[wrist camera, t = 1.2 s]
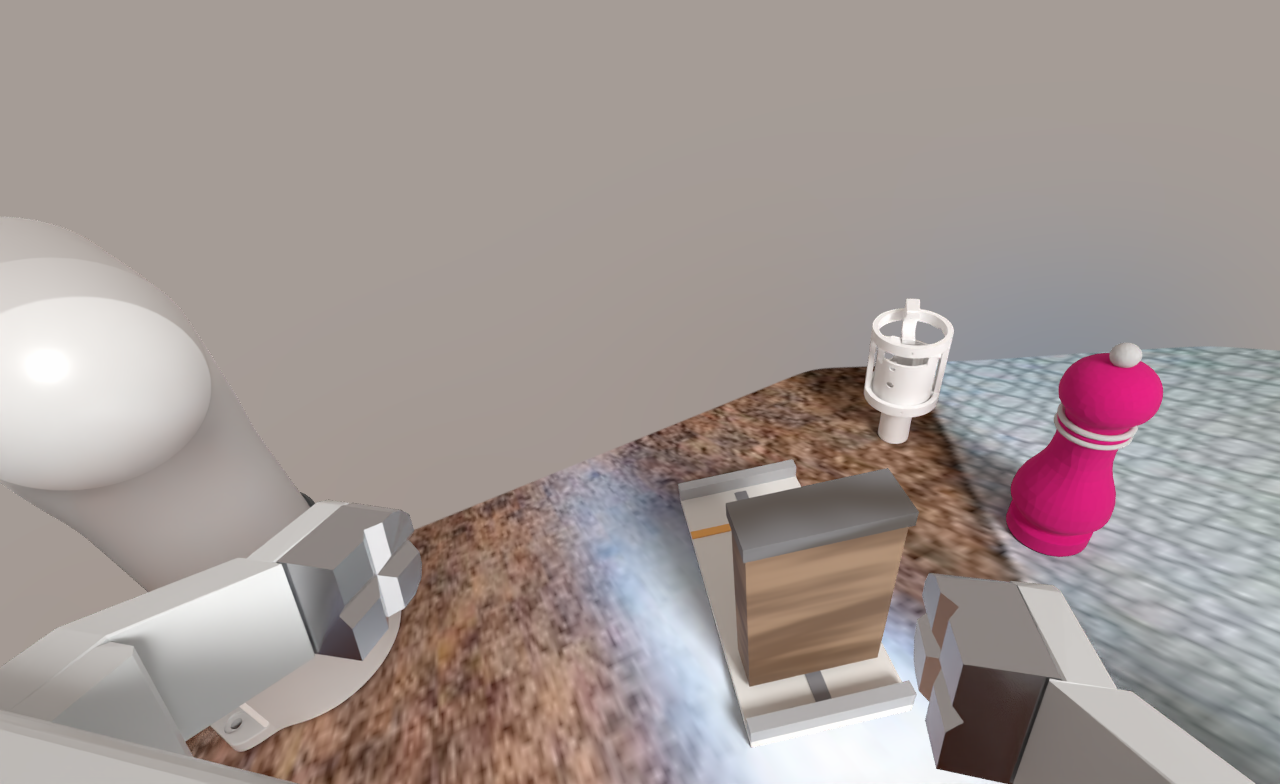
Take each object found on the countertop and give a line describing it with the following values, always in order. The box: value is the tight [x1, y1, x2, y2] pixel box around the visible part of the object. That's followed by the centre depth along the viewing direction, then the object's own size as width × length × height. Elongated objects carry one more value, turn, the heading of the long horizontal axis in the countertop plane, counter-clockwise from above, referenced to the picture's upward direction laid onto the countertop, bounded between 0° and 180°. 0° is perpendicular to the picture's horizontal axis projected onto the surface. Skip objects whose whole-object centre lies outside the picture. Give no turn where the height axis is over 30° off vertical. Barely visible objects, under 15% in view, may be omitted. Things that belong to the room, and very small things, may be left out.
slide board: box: [678, 459, 917, 748], centre depth 51 cm, size 24×12×2 cm, turn 9°
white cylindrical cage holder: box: [864, 299, 954, 444], centre depth 60 cm, size 7×7×15 cm
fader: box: [726, 468, 919, 687], centre depth 40 cm, size 4×10×17 cm, turn 99°
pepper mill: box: [1006, 343, 1163, 557], centre depth 47 cm, size 7×7×20 cm
